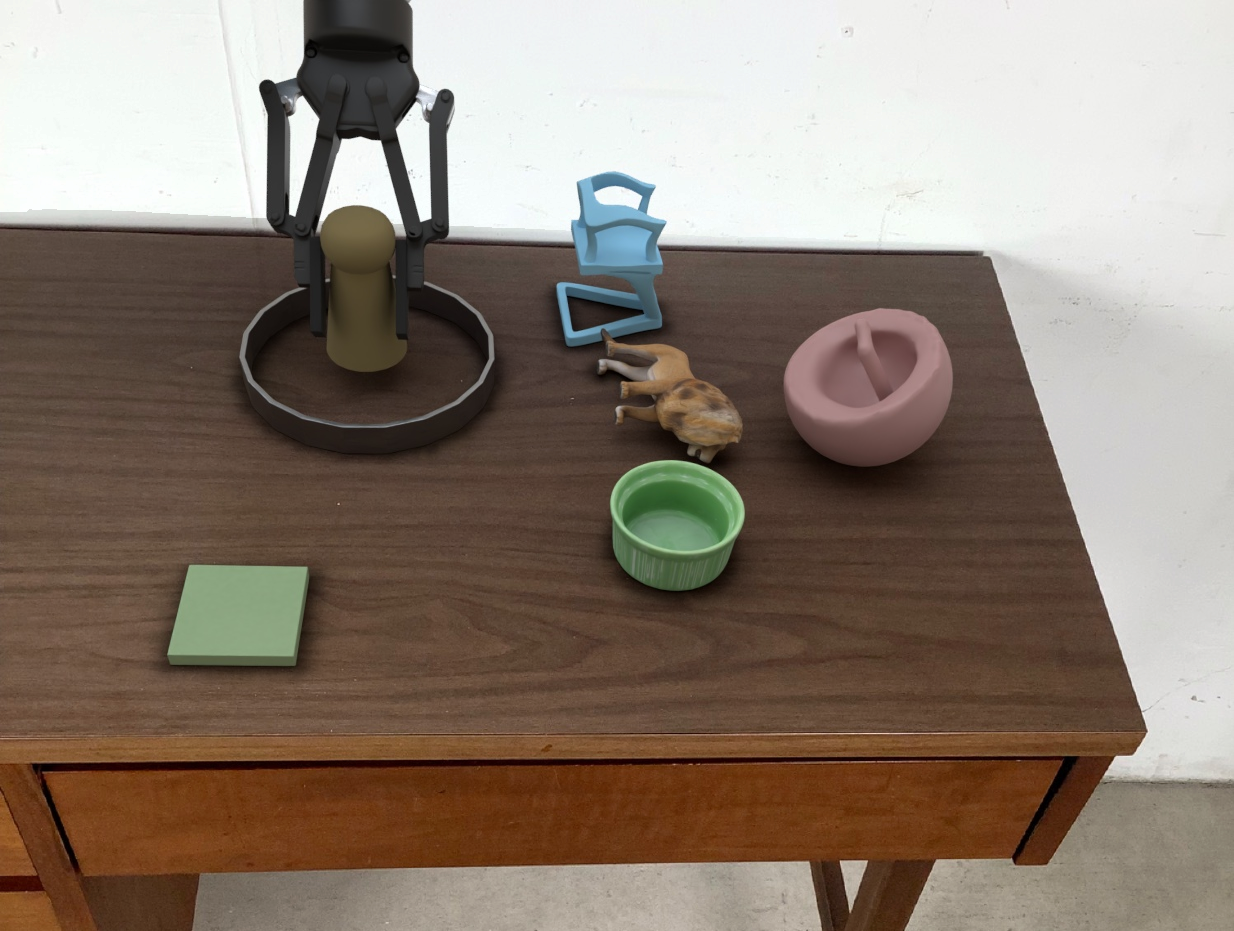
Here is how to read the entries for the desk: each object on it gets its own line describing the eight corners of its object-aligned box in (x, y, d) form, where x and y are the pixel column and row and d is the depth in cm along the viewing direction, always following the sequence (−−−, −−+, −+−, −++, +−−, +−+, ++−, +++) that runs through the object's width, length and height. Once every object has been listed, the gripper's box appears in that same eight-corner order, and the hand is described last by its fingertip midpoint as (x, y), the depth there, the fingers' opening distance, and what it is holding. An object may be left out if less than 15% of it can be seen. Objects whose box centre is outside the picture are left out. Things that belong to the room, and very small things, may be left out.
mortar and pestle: (758, 395, 96) (785, 269, 87) (905, 396, 97) (945, 272, 89) (786, 500, 88) (818, 373, 80) (944, 500, 90) (993, 375, 81)
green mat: (170, 665, 74) (166, 654, 73) (191, 574, 79) (189, 564, 78) (295, 666, 75) (293, 656, 74) (309, 576, 80) (307, 566, 79)
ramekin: (755, 583, 83) (767, 538, 79) (632, 611, 80) (638, 565, 77) (705, 495, 88) (713, 449, 85) (587, 518, 85) (591, 472, 82)
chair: (667, 345, 99) (685, 212, 90) (565, 347, 98) (573, 212, 89) (652, 290, 104) (667, 159, 95) (555, 291, 103) (562, 158, 94)
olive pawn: (421, 357, 92) (416, 227, 84) (348, 381, 89) (335, 249, 81) (384, 314, 95) (375, 185, 87) (312, 336, 92) (296, 205, 84)
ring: (203, 423, 89) (196, 395, 87) (302, 282, 101) (299, 256, 99) (450, 476, 87) (450, 450, 85) (521, 327, 99) (522, 301, 97)
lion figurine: (622, 474, 88) (741, 472, 90) (631, 415, 84) (755, 414, 86) (590, 356, 98) (698, 356, 100) (597, 298, 94) (709, 299, 96)
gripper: (212, -34, 81) (217, 323, 82) (489, -17, 83) (489, 331, 84) (235, 14, 88) (239, 340, 90) (488, 28, 90) (488, 346, 92)
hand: (360, 335), depth 87 cm, fingers closed on olive pawn, 5 cm apart
